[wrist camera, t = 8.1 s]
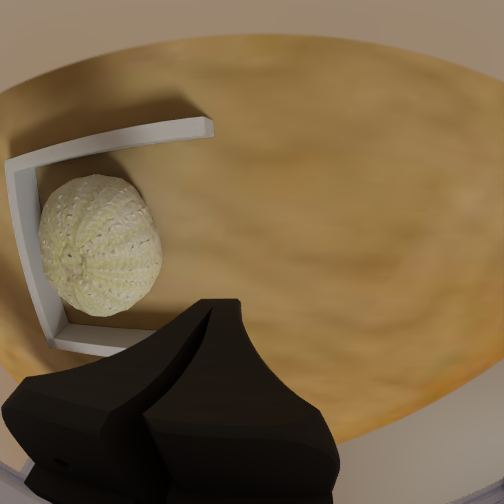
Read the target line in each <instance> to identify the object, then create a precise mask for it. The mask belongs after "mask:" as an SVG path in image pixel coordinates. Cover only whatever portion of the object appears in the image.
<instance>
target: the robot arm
mask: <svg viewBox="0 0 504 504" xmlns="http://www.w3.org/2000/svg"><path fill="white" fill-rule="evenodd" d="M1 411H2V417H3V420H4V422H5V424H6V426H7V428H8V429H9V431H10V432H11V434H12V435H13V437H14V438H15V439H16V441H17V442H18V443H19V444H20V446H21V447H22V448H23V450H24V451H25V452H26V453H27V455H28V456H29V458H28V459H27V461H26V462H25V464H24V466H23V467H22V469H21V471H20V472H18V471H16V470H15V469H13V468H11V467H9V466H8V465H6V464H4V463H3V462H1V461H0V504H333V497H332V490H333V488H334V485H335V482H336V479H337V477H338V474H339V471H340V458H339V453H338V451H337V447H336V444H335V441H334V439H333V436H332V434H331V432H330V430H329V428H328V426H327V424H326V422H325V420H324V418H323V416H322V414H321V412H320V411H319V410H318V409H317V408H315V407H314V406H312V405H311V404H309V403H308V402H306V401H305V400H303V399H302V398H300V397H299V396H298V395H296V394H295V393H294V392H293V391H292V390H290V389H289V388H288V387H287V386H286V385H285V384H284V383H283V382H282V381H281V380H280V379H279V378H278V377H277V376H276V375H275V374H274V373H273V372H272V371H271V370H270V369H269V367H268V366H267V365H266V364H265V362H264V361H263V360H262V358H261V357H260V355H259V354H258V353H257V351H256V349H255V348H254V346H253V344H252V342H251V341H250V339H249V337H248V335H247V332H246V330H245V327H244V325H243V322H242V313H241V302H240V301H239V300H238V299H200V300H199V301H197V302H196V303H195V304H193V305H192V306H191V307H189V308H188V309H187V310H185V311H184V312H183V313H182V314H180V315H179V316H178V317H176V318H175V319H174V320H172V321H171V322H170V323H168V324H167V325H165V326H164V327H162V328H161V329H159V330H158V331H156V332H155V333H153V334H152V335H150V336H149V337H147V338H145V339H144V340H142V341H140V342H138V343H137V344H135V345H133V346H131V347H129V348H127V349H125V350H123V351H121V352H118V353H116V354H113V355H111V356H108V357H106V358H103V359H101V360H98V361H96V362H93V363H90V364H87V365H84V366H80V367H77V368H73V369H69V370H65V371H61V372H55V373H50V374H44V375H37V376H30V377H26V378H25V379H24V380H23V381H22V382H21V383H20V385H19V386H18V387H17V388H16V390H15V391H14V392H13V393H12V394H11V395H10V397H9V398H8V399H7V400H6V401H5V403H4V404H3V405H2V407H1ZM447 504H504V478H503V479H501V480H499V481H498V482H495V483H494V484H491V485H489V486H487V487H485V488H483V489H481V490H479V491H476V492H474V493H472V494H470V495H467V496H465V497H462V498H460V499H457V500H455V501H452V502H450V503H447Z"/></svg>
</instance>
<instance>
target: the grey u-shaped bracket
mask: <svg viewBox="0 0 504 504" xmlns="http://www.w3.org/2000/svg"><path fill="white" fill-rule="evenodd" d="M210 137H214V126H213V120H211V119H209V118H207V117H204V116H203V117H194V118H186V119H178V120H171V121H164V122H157V123H151V124H145V125H139V126H134V127H129V128H123V129H118V130H113V131H109V132H104V133H100V134H95V135H91V136H87V137H83V138H79V139H75V140H71V141H67V142H63V143H60V144H56V145H53V146H49V147H46V148H42V149H39V150H36V151H33V152H30V153H26V154H23V155H20V156H17V157H15V158H12V159H9V160H6V161H4V162H5V173H6V183H7V191H8V198H9V205H10V211H11V217H12V223H13V228H14V233H15V238H16V242H17V247H18V251H19V256H20V260H21V264H22V267H23V271H24V275H25V278H26V282H27V285H28V289H29V292H30V295H31V298H32V301H33V305H34V308H35V311H36V313H37V316H38V319H39V322H40V325H41V327H42V330H43V333H44V335H45V338H46V340H47V343H48V345H49V347H50V348H55V349H60V350H66V351H72V352H78V353H84V354H91V355H98V356H105V357H108V356H111V355H113V354H116V353H118V352H121V351H123V350H125V349H127V348H129V347H131V346H133V345H135V344H137V343H138V342H140V341H142V340H144V339H145V338H147V337H149V336H150V335H152V334H153V333H155V332H156V331H157V330H139V329H125V328H112V327H100V326H89V325H80V324H70V323H69V322H68V319H67V316H66V313H65V310H64V307H63V304H62V300H61V297H60V296H58V295H57V292H56V291H55V290H54V289H53V288H52V286H51V285H50V284H49V283H48V281H47V279H46V276H45V274H44V272H43V265H42V261H41V256H40V253H39V251H40V248H39V242H40V240H39V233H38V232H39V229H38V228H39V226H40V220H41V209H40V202H39V195H38V187H37V179H36V169H35V168H37V167H41V166H45V165H49V164H53V163H57V162H61V161H65V160H69V159H74V158H78V157H83V156H88V155H93V154H98V153H103V152H108V151H113V150H119V149H125V148H131V147H137V146H143V145H150V144H157V143H165V142H172V141H181V140H190V139H199V138H210Z"/></svg>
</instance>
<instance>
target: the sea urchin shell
mask: <svg viewBox="0 0 504 504" xmlns="http://www.w3.org/2000/svg"><path fill="white" fill-rule="evenodd" d="M38 229H39V232H38V233H39V240H40V242H39V248H40V251H39V253H40V256H41V261H42V265H43V272H44V274H45V276H46V279H47V281H48V283H49V284H50V285H51V286H52V288H53V289H54V290H55V291H56V292H57V295H58V296H60V297H62V298H63V299H65V300H66V301H67V302H69V304H71V305H72V306H73V307H74V308H76V309H77V310H81V311H84V312H85V313H87V314H89V315H91V316H103V317H107V316H111V315H114V314H116V313H118V312H121V311H124V310H128V309H129V308H130V307H132V306H133V304H135V303H136V302H137V301H138V300H140V299H141V298H142V297H144V296H146V293H148V292H150V288H151V287H152V286H153V284H154V282H155V280H156V278H157V276H158V274H159V272H160V269H161V263H162V259H163V255H162V248H161V243H160V237H159V231H158V229H157V227H156V226H155V224H154V221H153V219H152V216H151V213H150V211H149V207H148V206H147V205H146V203H145V201H144V200H143V199H142V198H141V197H140V195H139V193H138V192H137V190H136V189H135V188H134V187H133V186H132V185H130V184H129V183H127V182H126V181H124V179H122V178H117V177H111V176H105V175H100V174H93V175H90V176H86V177H82V178H74V180H69V182H66V184H64V185H62V186H61V187H59V188H58V189H57V190H55V191H54V192H52V194H50V197H49V198H48V200H47V202H46V203H45V205H44V207H43V211H42V215H41V220H40V226H39V228H38Z"/></svg>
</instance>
